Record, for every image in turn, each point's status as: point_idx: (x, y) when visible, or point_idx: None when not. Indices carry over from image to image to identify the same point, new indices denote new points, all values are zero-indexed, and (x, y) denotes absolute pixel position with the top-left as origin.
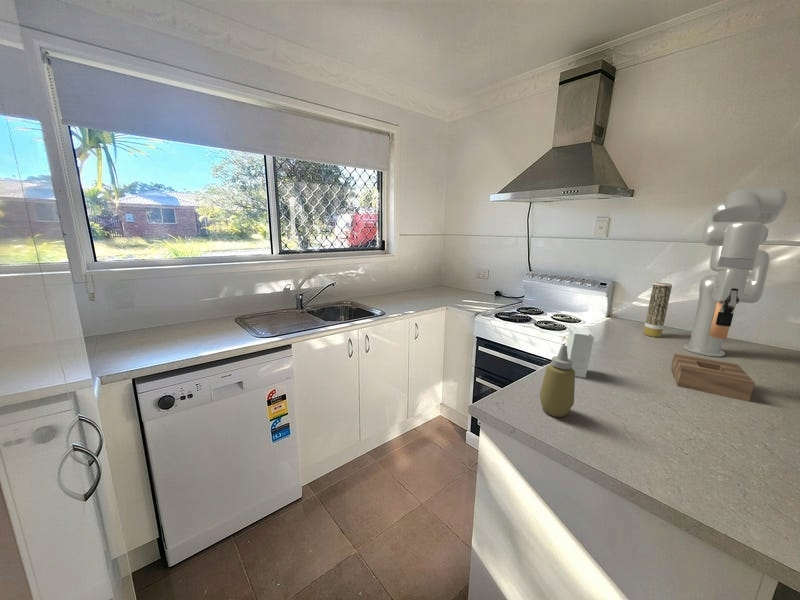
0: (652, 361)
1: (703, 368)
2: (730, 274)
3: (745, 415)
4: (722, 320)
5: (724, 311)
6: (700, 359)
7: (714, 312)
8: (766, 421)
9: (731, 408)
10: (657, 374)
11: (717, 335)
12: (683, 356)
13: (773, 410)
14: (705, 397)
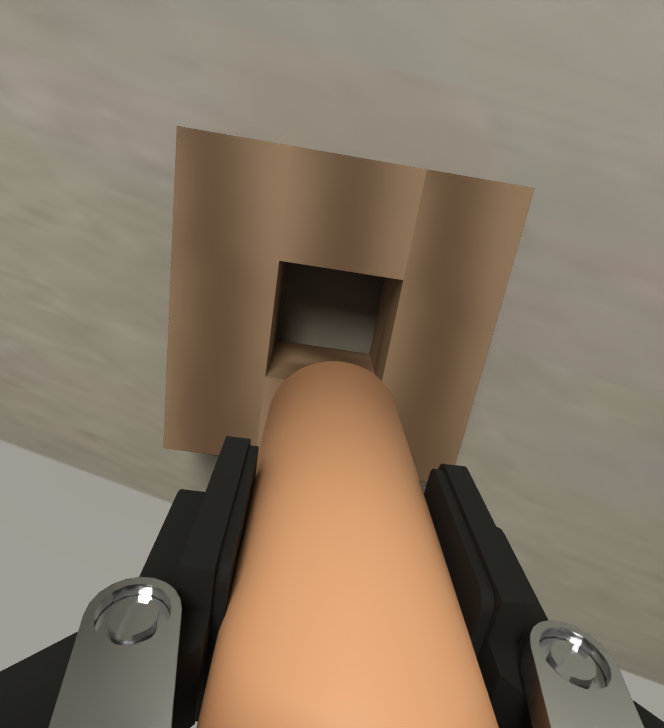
0: (605, 108)
1: (255, 273)
2: None
3: (9, 326)
4: (174, 516)
5: (67, 638)
6: (451, 320)
7: (361, 531)
8: (2, 379)
9: (53, 300)
10: (350, 68)
11: (269, 409)
12: (473, 230)
13: (148, 449)
14: (121, 232)
